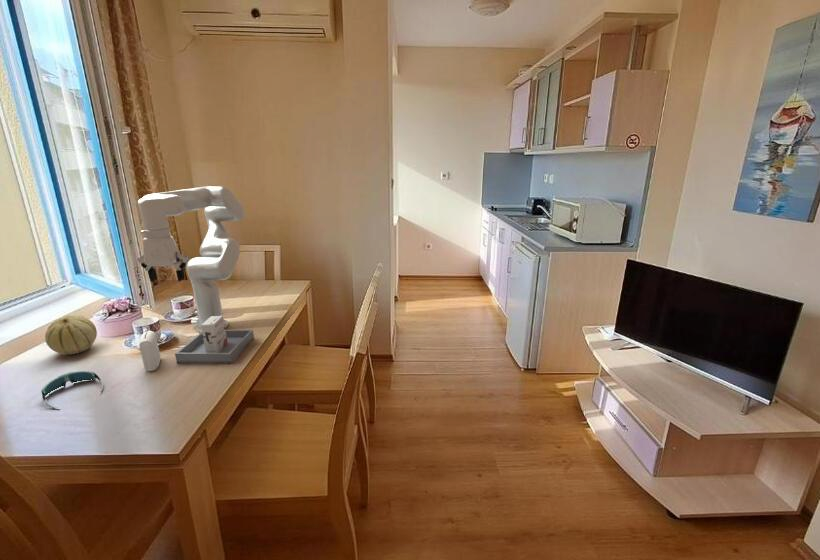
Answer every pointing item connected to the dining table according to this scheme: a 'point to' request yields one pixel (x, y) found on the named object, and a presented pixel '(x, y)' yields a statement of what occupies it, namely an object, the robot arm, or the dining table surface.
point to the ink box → (214, 334)
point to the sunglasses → (65, 378)
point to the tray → (227, 355)
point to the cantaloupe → (70, 334)
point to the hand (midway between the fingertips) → (167, 280)
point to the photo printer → (149, 351)
